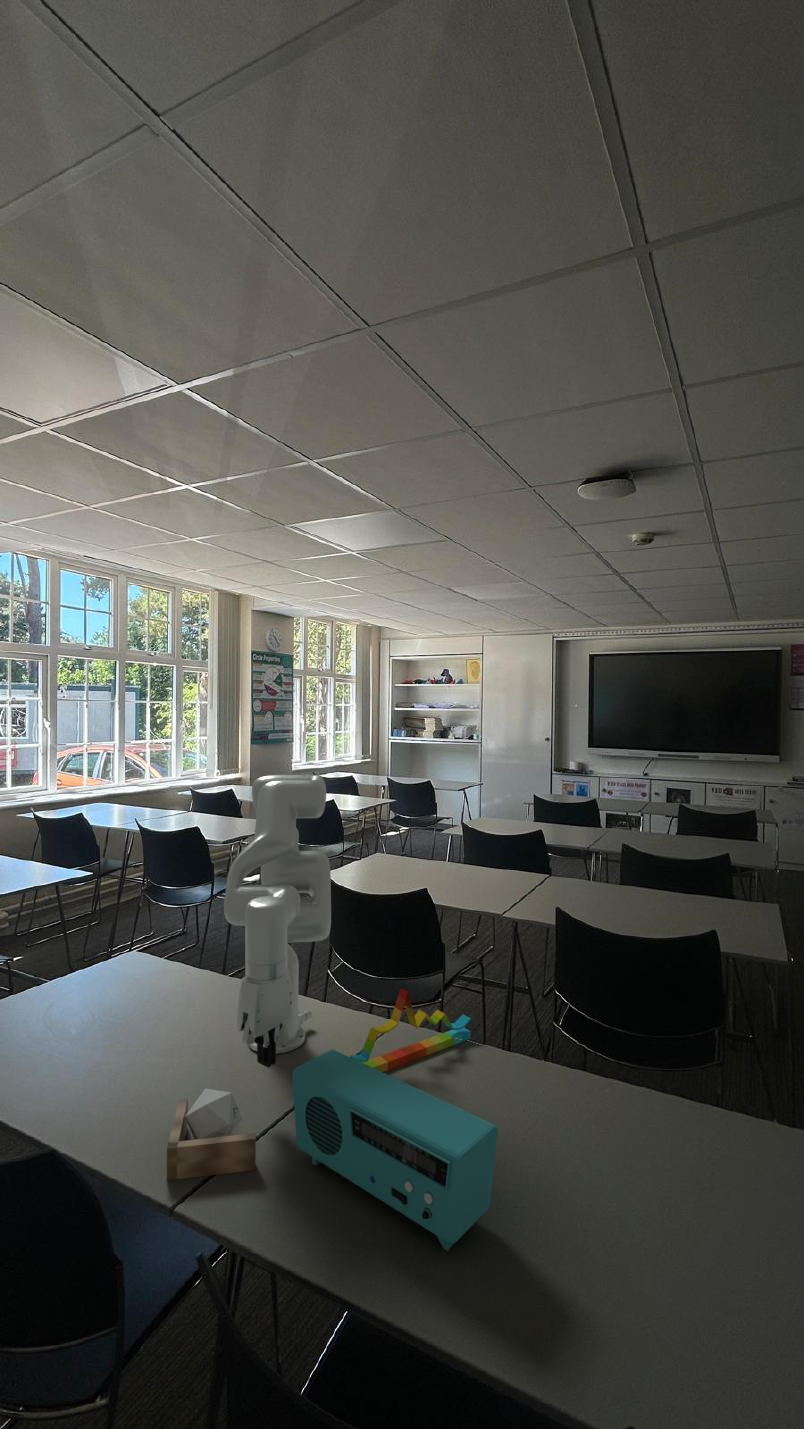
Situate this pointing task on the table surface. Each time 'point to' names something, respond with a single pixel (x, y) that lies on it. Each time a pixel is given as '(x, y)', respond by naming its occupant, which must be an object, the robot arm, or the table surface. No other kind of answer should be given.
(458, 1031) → the chart
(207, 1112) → the die
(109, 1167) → the table surface
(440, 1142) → the radio
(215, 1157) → the bracket
